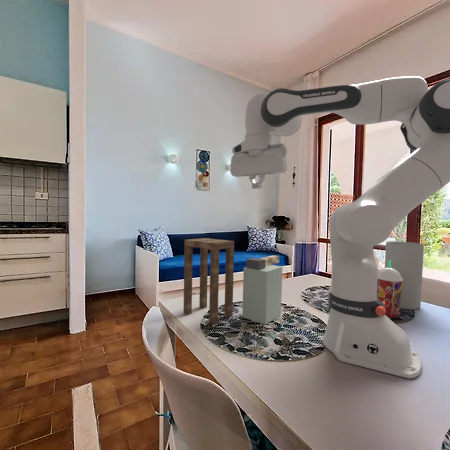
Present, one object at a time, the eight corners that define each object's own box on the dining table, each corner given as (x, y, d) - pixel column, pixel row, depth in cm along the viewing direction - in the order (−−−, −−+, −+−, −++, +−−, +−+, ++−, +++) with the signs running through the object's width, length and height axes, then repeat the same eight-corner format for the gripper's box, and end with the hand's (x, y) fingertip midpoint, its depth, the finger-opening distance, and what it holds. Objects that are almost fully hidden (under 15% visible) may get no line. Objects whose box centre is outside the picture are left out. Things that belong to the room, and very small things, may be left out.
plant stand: (232, 315, 90) (234, 241, 89) (213, 324, 82) (215, 243, 81) (203, 305, 99) (204, 237, 97) (183, 313, 91) (184, 239, 90)
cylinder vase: (376, 301, 108) (379, 241, 107) (395, 297, 113) (398, 241, 112) (408, 312, 96) (411, 245, 95) (427, 307, 102) (431, 244, 100)
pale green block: (280, 314, 92) (282, 266, 91) (265, 324, 83) (267, 271, 82) (258, 308, 97) (260, 263, 96) (242, 317, 89) (243, 267, 88)
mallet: (270, 261, 101) (270, 253, 100) (282, 262, 98) (282, 255, 97) (246, 267, 87) (246, 259, 87) (259, 270, 84) (259, 261, 84)
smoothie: (406, 320, 89) (409, 262, 88) (382, 319, 89) (385, 262, 88) (391, 311, 97) (394, 258, 96) (369, 310, 97) (371, 257, 96)
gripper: (290, 144, 83) (289, 187, 83) (238, 152, 95) (237, 190, 96) (282, 139, 78) (280, 186, 78) (228, 149, 90) (227, 188, 91)
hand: (256, 188), depth 87 cm, fingers closed
